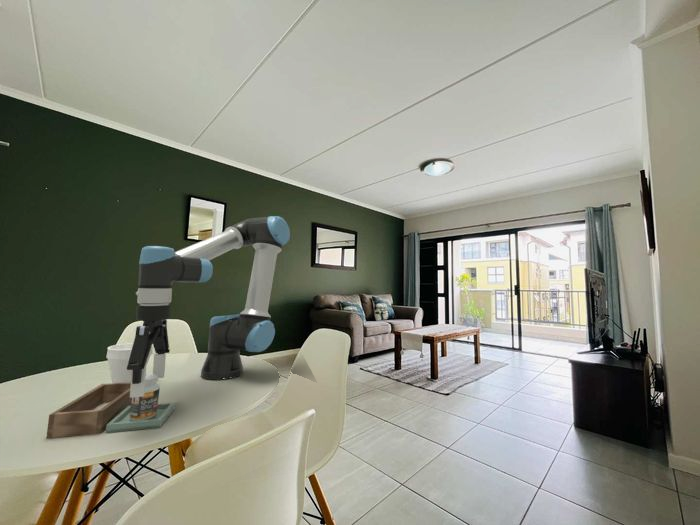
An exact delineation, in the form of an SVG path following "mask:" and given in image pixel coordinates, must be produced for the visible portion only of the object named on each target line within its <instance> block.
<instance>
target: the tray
mask: <svg viewBox="0 0 700 525" xmlns="http://www.w3.org/2000/svg"><path fill="white" fill-rule="evenodd" d="M175 404H176V402H163V403H162V402H161V403H158V409H157V414H156V415H155V416H154V417H153V418H151V419H148V420H140V421H132V420H130V410H131V406H128V407H127V408H126V409H124V410H123V411H122V412H121V413H120V414H119V415H117V416H116V417H115V418H114V419H113V420H112V421H111V422H109V423H108V424H107V426H106V429H105V433H106V434H107V433H110V434H111V433H120V432H129V431H139V430H140V431H141V430H150V429H160V428H162V426H163V425H162V424H164V423H165V422H166V421H167V420H168V418H169V417H170V415H171V414H172V413H173V412H174V410H175ZM171 412H172V413H171ZM168 416H169V417H168ZM165 420H166V421H165ZM161 425H162V426H161Z"/></svg>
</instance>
